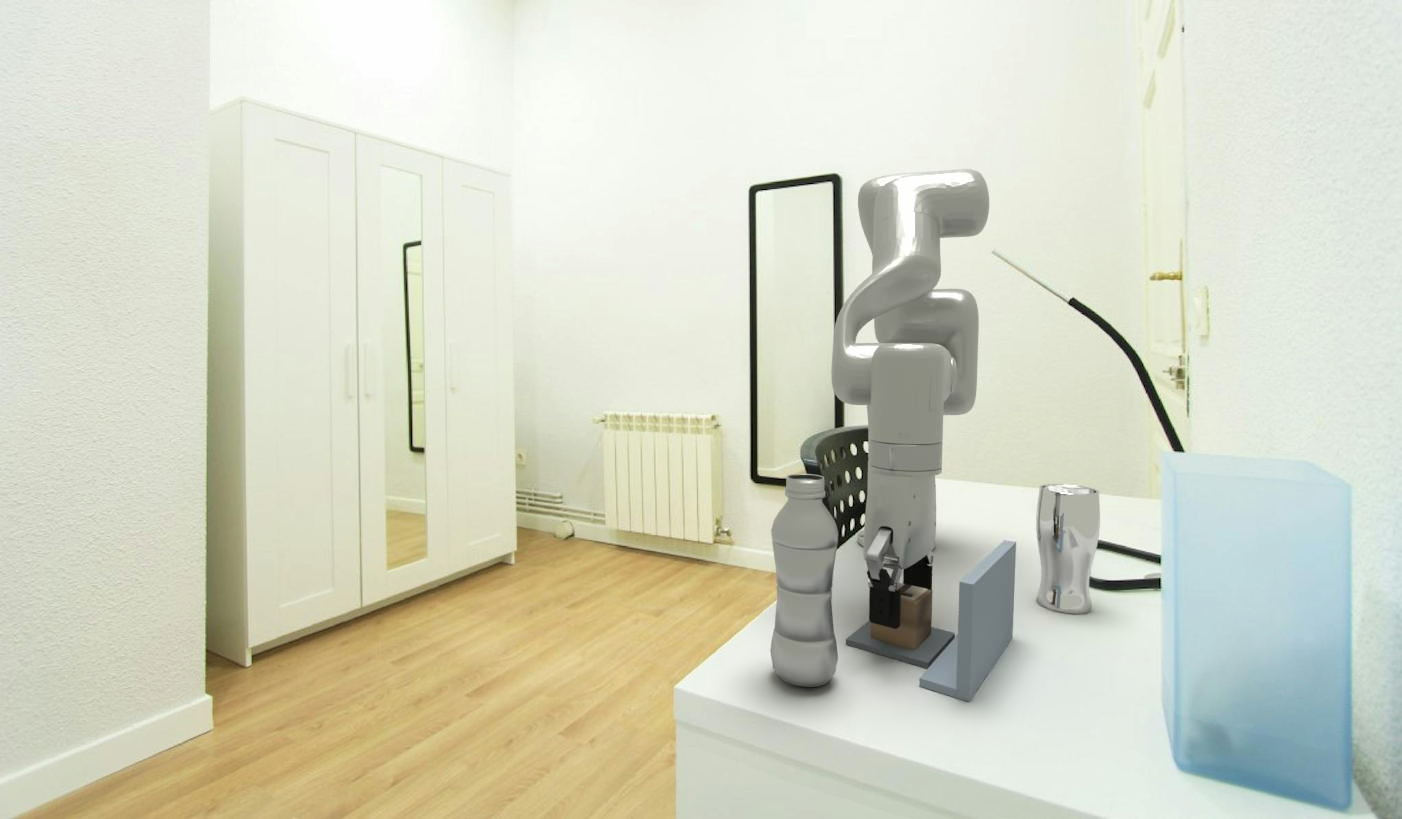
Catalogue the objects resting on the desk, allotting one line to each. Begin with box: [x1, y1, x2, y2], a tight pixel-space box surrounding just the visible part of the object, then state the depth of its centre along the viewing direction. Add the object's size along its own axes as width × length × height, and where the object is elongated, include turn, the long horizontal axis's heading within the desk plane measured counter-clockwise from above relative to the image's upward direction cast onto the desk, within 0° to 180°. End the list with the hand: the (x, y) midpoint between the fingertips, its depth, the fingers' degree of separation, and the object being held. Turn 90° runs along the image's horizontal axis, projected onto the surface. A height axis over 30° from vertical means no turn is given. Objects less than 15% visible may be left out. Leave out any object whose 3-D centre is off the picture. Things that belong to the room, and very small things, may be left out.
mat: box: [845, 620, 956, 669], centre depth 71 cm, size 9×9×1 cm
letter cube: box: [871, 582, 933, 650], centre depth 71 cm, size 5×5×5 cm
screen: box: [918, 540, 1017, 703], centre depth 66 cm, size 17×5×11 cm, turn 142°
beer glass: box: [1035, 483, 1101, 615], centre depth 81 cm, size 7×7×15 cm
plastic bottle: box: [769, 473, 839, 688], centre depth 62 cm, size 6×7×20 cm
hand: (901, 610), depth 70 cm, fingers open, 9 cm apart
